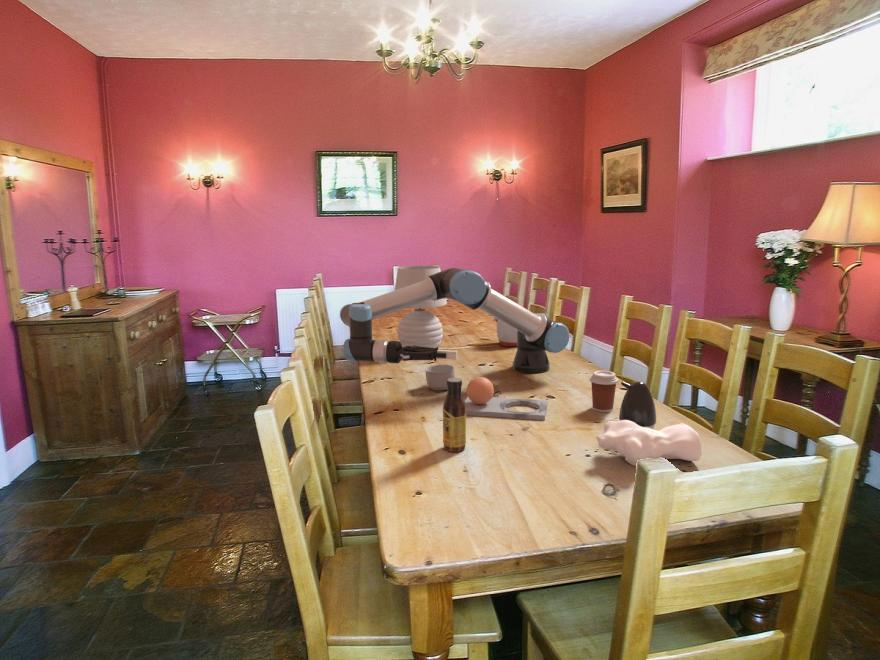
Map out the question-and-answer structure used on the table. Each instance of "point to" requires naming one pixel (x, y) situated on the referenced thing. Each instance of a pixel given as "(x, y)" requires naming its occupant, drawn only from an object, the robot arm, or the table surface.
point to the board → (500, 408)
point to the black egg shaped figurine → (638, 405)
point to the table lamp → (419, 311)
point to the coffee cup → (603, 390)
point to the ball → (480, 390)
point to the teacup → (439, 376)
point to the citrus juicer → (506, 334)
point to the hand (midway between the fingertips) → (456, 355)
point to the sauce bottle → (454, 417)
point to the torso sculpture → (650, 441)
